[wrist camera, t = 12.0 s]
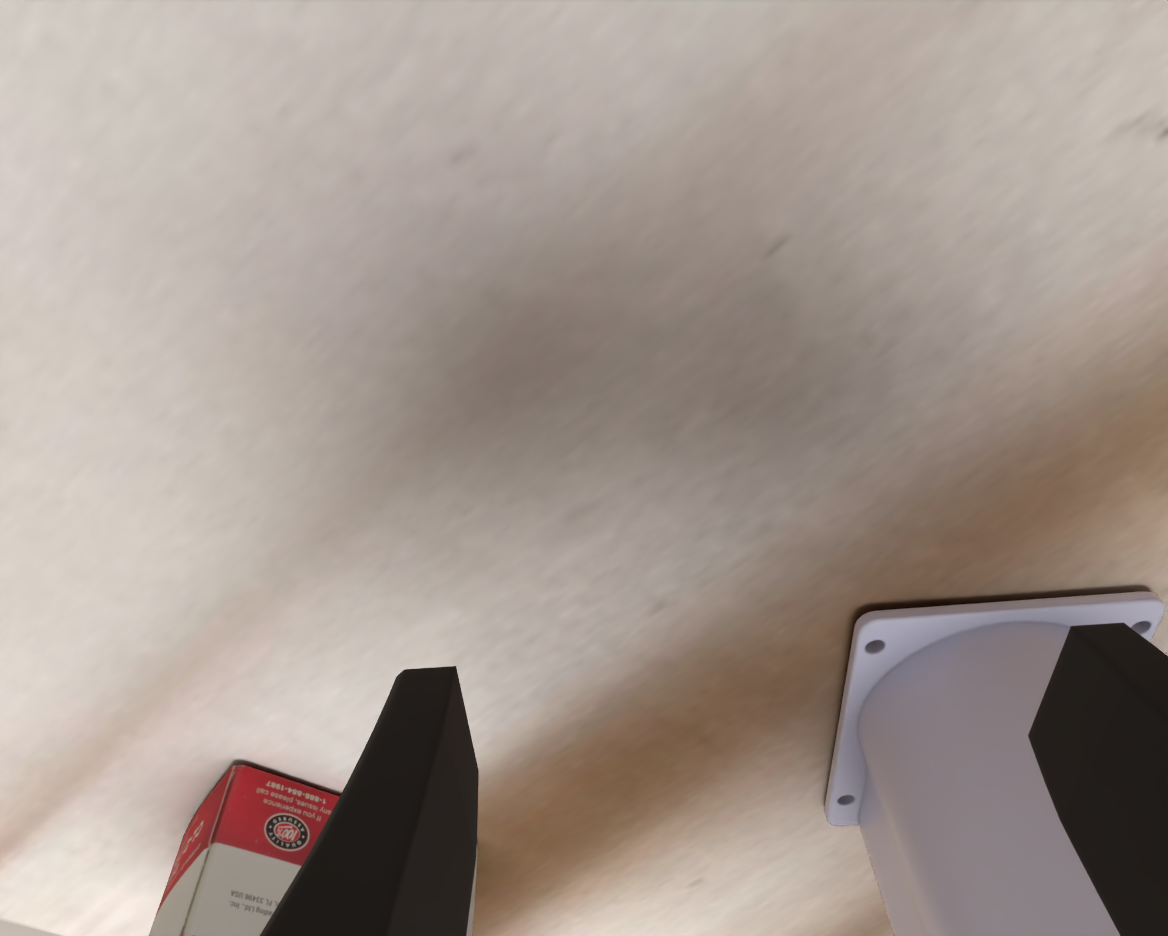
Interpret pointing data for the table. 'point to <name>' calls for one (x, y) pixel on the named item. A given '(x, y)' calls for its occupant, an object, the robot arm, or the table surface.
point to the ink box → (244, 855)
